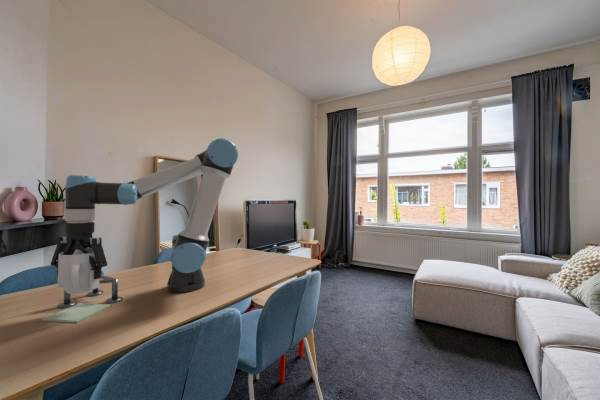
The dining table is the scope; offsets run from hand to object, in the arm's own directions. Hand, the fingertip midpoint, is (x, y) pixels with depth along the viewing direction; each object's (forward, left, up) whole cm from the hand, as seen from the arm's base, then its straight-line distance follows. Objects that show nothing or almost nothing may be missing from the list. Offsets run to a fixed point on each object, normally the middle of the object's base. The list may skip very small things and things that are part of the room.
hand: (78, 287), depth 83 cm
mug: (-1, 0, -1) cm, 2 cm away
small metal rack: (+3, -11, -9) cm, 14 cm away
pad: (0, 0, -9) cm, 9 cm away
